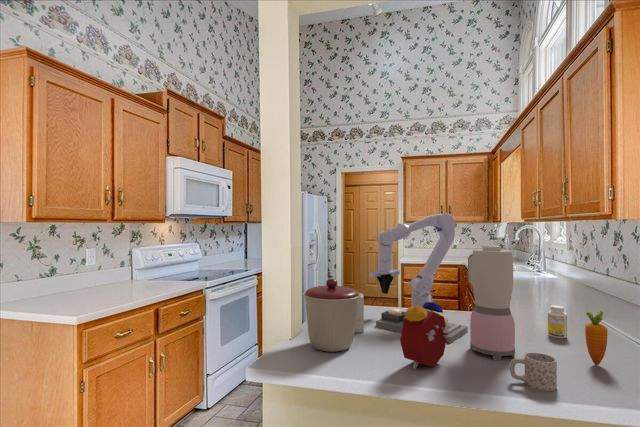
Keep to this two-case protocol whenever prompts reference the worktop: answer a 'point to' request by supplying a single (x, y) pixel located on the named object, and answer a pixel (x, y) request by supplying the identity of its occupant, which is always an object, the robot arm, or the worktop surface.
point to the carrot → (596, 337)
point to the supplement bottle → (557, 322)
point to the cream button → (395, 311)
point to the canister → (331, 316)
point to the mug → (537, 371)
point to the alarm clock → (424, 333)
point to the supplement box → (360, 315)
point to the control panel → (398, 320)
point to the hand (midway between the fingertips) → (384, 293)
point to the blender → (492, 301)
